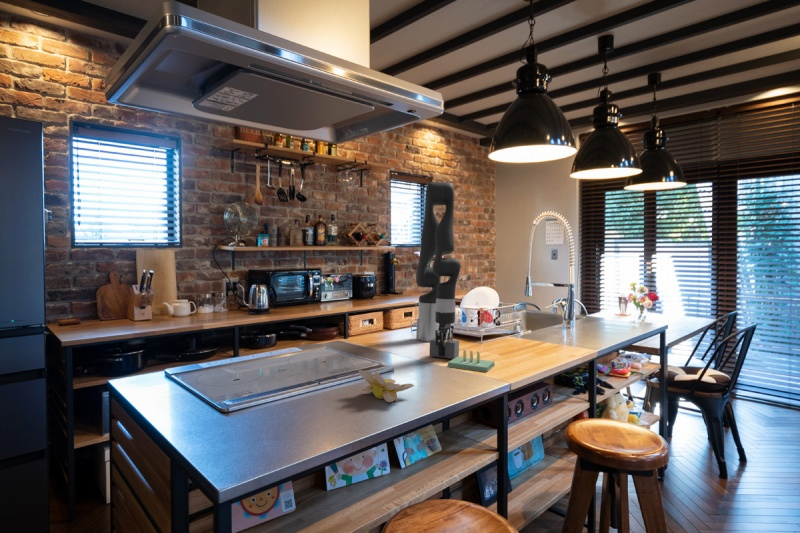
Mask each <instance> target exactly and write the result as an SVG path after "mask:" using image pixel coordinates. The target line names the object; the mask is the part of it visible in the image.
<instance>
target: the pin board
mask: <svg viewBox="0 0 800 533" xmlns="http://www.w3.org/2000/svg"><path fill="white" fill-rule="evenodd" d="M447 367H449V368H456V369H463V370H470V371H475V372H476V371H477V372H485V373H488V372H489V371H490V370H491V369H492V368H493V367H495V361H493V360H486V359H485V360H484V359H481V351H480V350H478V351H476V358H474V350H472V349H471V350H470V352H469V357H467V349H463V356H462V357H461V356H458V357H456V358H454V359H451V360H449V361H447Z"/></svg>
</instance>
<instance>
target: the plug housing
mask: <svg viewBox="0 0 800 533" xmlns="http://www.w3.org/2000/svg"><path fill="white" fill-rule="evenodd" d="M440 342H441V341H440ZM444 347H445V355H444V356H439V355H438V354H439V346H438V345H436V338H434V339H431V340H430V341H429V356H430V357H437V358H444V359H451V360H453V359H454V358H456V357H460V356H459V355H460V354H459V352H460V340H458V339H457V340H454V339H453V340H448V339H447V341H445V346H444Z"/></svg>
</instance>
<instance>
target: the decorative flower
mask: <svg viewBox="0 0 800 533" xmlns="http://www.w3.org/2000/svg"><path fill="white" fill-rule="evenodd" d="M357 373H358V374H359V375H360V377H362V379H363V380H364V381H365V382H366V383H367V384H369V385H368V386H366V387H364V388H363V389H361V391H362V392H366V393H370V392H373V395H374V397H375V398H377V399H380V400H383V399H384V401H386V402H388V403H392V402H394V401H396V402H398V394H397V393H399V392H403V391H406V390H409V389H410V388H413V387H415V384H414V383H404V384H400V383H396V382H397V381H396V380H395V379H392V378H385V379H384V378H383V377H381V374H380V373H379V372H377V371H375V372H374V374H373V373H372V372H371V371H370V370H363V369H359V370H357Z"/></svg>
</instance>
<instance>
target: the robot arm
mask: <svg viewBox="0 0 800 533" xmlns="http://www.w3.org/2000/svg"><path fill="white" fill-rule="evenodd" d="M424 197H425V200H424V201H425V202H424V216H423V222H422V223H423V224H422V229H421V230H422V231H421V238H420V251H419V259H418V265H417V269H416V270H417V271H416V275H415V282H416V285H417V286H418V287H419V288H431V290H430V291H429V292H426V293H423V294H421V295H420V296H419V298H418V318H416V337H415V339H416V341H417V340H418V341H422V342H430V340H431V339H434V338H436V345H438V346H439V354H438V355H439V356H444V355H445V347H444V346H445V341H447V339H448V340H454V330H455V326H454V325H453V324H455V323H456V286H457V283H458V278H459V276H460V273H461V269H462V268H461V266H462V265H461V262H460V260H459V259H458V258H456V257H443V256H446V255H449V254H452V253H454V251H455V239H454V216H455V214H454V213H455V212H454V211H455V210H454V209H455V189H454V185H453V183H452V182H447V181H445V182H443V181H430V182H428V183H427V185H426V187H425V196H424ZM434 206H445V209H444V210H445V211H444V214H443V217H442V218H441V220H440V221H439V220H438V218H437V216H436V214H435V212H434ZM433 258H434V259H433ZM432 259H433V262H432V263H433V264H432V266H431V267H429V266H428V265H429V263H430V261H431V260H432ZM427 266H428V267H427ZM441 277H448V280H447V281H444V282H443V281H442V282H441ZM440 341H441V342H440Z"/></svg>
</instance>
